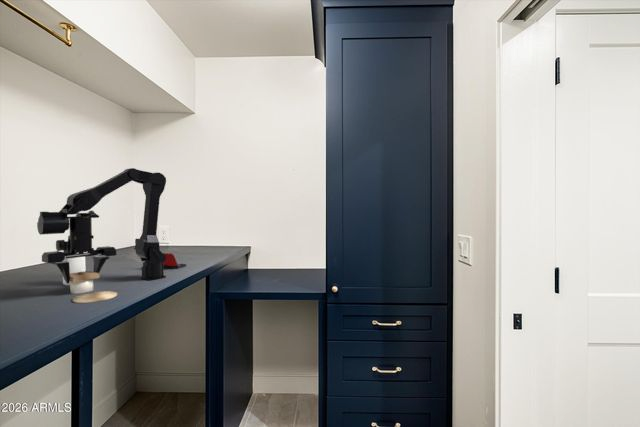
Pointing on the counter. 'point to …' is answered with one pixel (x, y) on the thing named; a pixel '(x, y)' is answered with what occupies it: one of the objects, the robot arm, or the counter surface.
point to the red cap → (171, 262)
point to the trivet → (94, 297)
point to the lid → (83, 276)
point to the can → (75, 266)
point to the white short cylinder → (81, 286)
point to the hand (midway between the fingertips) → (81, 280)
